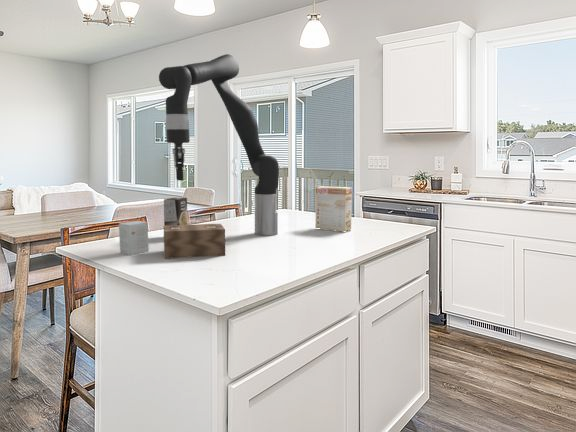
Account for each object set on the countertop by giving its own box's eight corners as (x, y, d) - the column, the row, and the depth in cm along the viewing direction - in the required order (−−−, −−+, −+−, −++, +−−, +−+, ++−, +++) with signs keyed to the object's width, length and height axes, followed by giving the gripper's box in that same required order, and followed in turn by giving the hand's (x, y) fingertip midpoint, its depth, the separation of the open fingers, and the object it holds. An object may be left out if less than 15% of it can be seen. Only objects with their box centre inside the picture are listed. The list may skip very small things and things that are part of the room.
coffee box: (179, 240, 181) (178, 199, 179) (164, 239, 183) (162, 199, 180) (188, 236, 190) (187, 197, 188) (174, 235, 191) (173, 196, 189)
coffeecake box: (351, 230, 206) (352, 187, 204) (344, 232, 200) (345, 188, 198) (322, 227, 214) (323, 185, 211) (314, 229, 208) (315, 186, 206)
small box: (138, 249, 164) (137, 220, 163) (149, 251, 161) (148, 221, 160) (119, 253, 158) (118, 223, 156) (129, 255, 155) (128, 224, 153)
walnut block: (220, 247, 167) (220, 223, 166) (225, 255, 156) (225, 229, 155) (164, 250, 162) (163, 225, 161) (164, 258, 151) (163, 231, 149)
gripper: (190, 127, 148) (192, 181, 151) (187, 129, 161) (189, 178, 164) (166, 127, 146) (169, 182, 149) (165, 129, 159) (168, 179, 161)
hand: (179, 180), depth 156 cm, fingers closed
